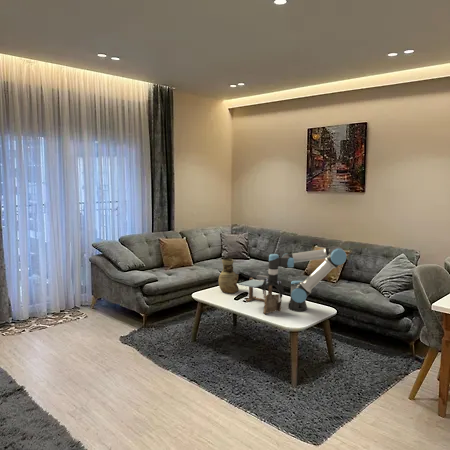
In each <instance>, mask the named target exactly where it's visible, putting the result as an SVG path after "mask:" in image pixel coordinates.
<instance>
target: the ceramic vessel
mask: <svg viewBox="0 0 450 450" xmlns="http://www.w3.org/2000/svg"><path fill="white" fill-rule="evenodd" d="M221 263H222V270H221V272H220V274H219V276H218V286H219V289H220V291H221V292H223V293H226V294H235V293H237V292H238V291H239V290H240V288H239V285H238V280H239V274H237V273H236V272H235V271H234V265H233V264H234V259H233V258H222V259H221Z"/></svg>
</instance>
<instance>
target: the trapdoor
mask: <svg viewBox="0 0 450 450" xmlns="http://www.w3.org/2000/svg"><path fill="white" fill-rule="evenodd" d="M266 278H267V279H268V275H263V274H257V275H256V277H255V279H254V278H253V279H252V280H246V281H243V282H237V286H243V287H244V286H245V287H248V288H249V287H253V289H256V288H259V287H260V288H261V286H262V285H263V283H264V280H265V279H266ZM267 284H268V281H267V282H266V284H265V286H266V285H267Z"/></svg>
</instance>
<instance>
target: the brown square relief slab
mask: <svg viewBox="0 0 450 450" xmlns="http://www.w3.org/2000/svg"><path fill="white" fill-rule="evenodd" d="M279 294H280V293H279ZM279 294H278V293H277V294H276V293H275V294H272V295H268V294H266V297H265V302H264V307H263V314H264V315H265V316H266V315H267V314H269V313H270V312H271V313H273V312H281V311H282V301H283V299H282V298H281V302H279Z"/></svg>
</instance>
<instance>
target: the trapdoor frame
mask: <svg viewBox="0 0 450 450" xmlns="http://www.w3.org/2000/svg"><path fill="white" fill-rule="evenodd" d="M252 279H254V277H249V280H252ZM249 280H248V281H249ZM268 283H269V282H268ZM267 295H273V285H269V286H268V287H267ZM251 301H258V302H263V303H265V299H263V298H259V297H257V296H254V288H253V287H248V298H246V299H245V302H247V303H250V302H251Z"/></svg>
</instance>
